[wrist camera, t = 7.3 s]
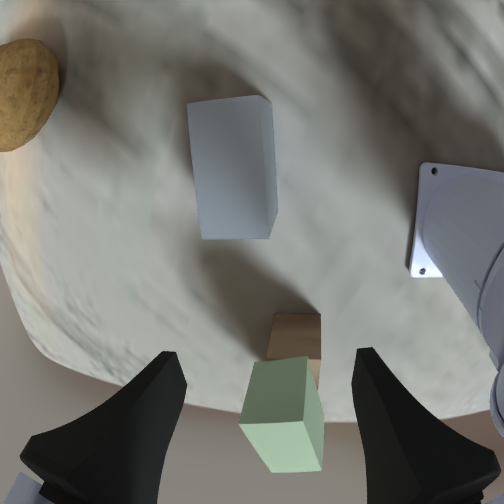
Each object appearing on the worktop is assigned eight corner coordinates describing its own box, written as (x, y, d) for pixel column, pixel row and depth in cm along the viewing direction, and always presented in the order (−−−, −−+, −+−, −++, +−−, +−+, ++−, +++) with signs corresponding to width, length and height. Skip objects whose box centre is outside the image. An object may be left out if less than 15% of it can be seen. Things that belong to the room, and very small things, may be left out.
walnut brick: (275, 312, 23) (265, 357, 18) (320, 313, 22) (321, 359, 17) (277, 373, 25) (269, 417, 21) (315, 375, 25) (313, 419, 20)
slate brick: (216, 108, 17) (186, 103, 13) (271, 103, 16) (258, 94, 12) (226, 211, 20) (201, 239, 15) (278, 211, 19) (268, 239, 15)
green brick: (254, 362, 18) (238, 423, 14) (307, 355, 17) (303, 421, 13) (280, 419, 21) (271, 472, 16) (324, 415, 20) (321, 470, 15)
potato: (2, 69, 17) (-55, 74, 10) (92, 23, 15) (19, 6, 8) (2, 153, 21) (-56, 173, 14) (87, 134, 19) (8, 151, 12)
